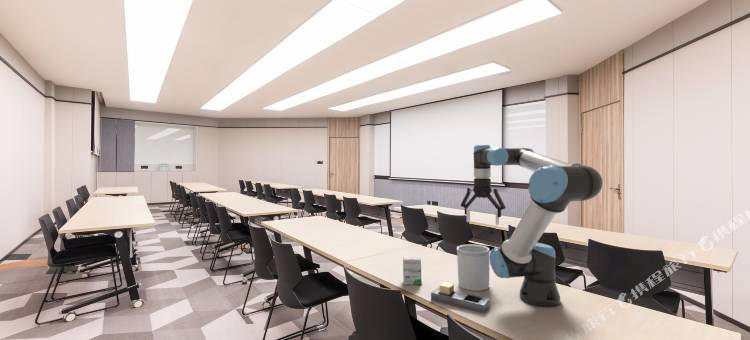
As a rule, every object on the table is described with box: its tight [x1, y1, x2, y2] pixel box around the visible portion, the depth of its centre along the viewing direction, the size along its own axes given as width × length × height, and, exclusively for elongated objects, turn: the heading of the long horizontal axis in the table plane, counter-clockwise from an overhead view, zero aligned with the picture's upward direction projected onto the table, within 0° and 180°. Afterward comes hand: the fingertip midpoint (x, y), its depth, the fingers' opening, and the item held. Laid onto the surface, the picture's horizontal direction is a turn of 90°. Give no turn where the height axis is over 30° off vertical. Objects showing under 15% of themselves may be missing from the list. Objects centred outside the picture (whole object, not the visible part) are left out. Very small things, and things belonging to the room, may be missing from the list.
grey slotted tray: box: [430, 286, 491, 314], centre depth 134 cm, size 22×7×3 cm, turn 54°
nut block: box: [438, 281, 455, 297], centre depth 137 cm, size 4×4×6 cm
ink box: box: [402, 256, 422, 286], centre depth 157 cm, size 9×5×12 cm, turn 84°
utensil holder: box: [456, 243, 491, 292], centre depth 153 cm, size 15×15×18 cm
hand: (482, 223), depth 154 cm, fingers open, 13 cm apart
